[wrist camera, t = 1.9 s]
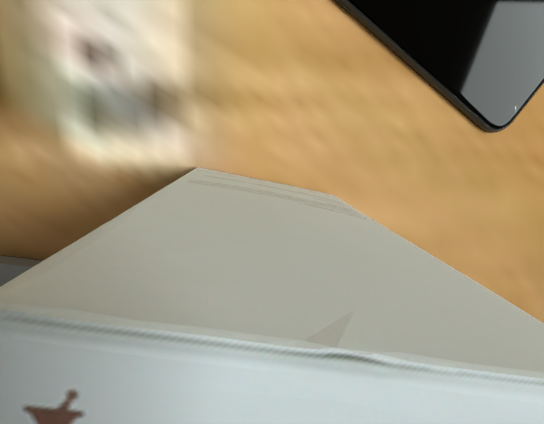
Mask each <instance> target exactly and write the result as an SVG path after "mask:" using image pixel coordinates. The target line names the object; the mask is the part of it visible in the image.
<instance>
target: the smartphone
mask: <svg viewBox="0 0 544 424" xmlns="http://www.w3.org/2000/svg"><path fill="white" fill-rule="evenodd" d="M335 1H336V2H337V3H338V4H339V5H340V6H341V7H342V8H344V9H345V10H346V11H347V12H348V13H349V14H351V15H352V16H353V17H355V18H356V19H357V20H358V21H359V22H360V23H361V24H362V25H364V26H365V27H366V28H367V29H368V30H369V31H370V32H372V33H373V34H374V35H375V36H376V37H377V38H378V39H379V40H381V41H382V42H383V43H384V44H385V45H386V46H387V47H389V48H390V49H391V50H392V51H393V52H394V53H395V54H396V55H398V56H399V57H400V58H401V59H402V60H403V61H404V62H405V63H407V64H408V65H409V66H410V67H411V68H412V69H413V70H415V71H416V72H417V73H418V74H419V75H420V76H421V77H422V78H424V79H425V80H426V81H427V82H428V83H429V84H430V85H432V86H433V87H434V88H435V89H436V90H437V91H438V92H439V93H441V94H442V95H443V96H444V97H445V98H446V99H447V100H448V101H450V102H451V103H452V104H453V105H454V106H455V107H456V108H458V109H459V110H460V111H461V112H462V113H463V114H464V115H465V116H467V117H468V118H469V119H470V120H471V121H472V122H473V123H475V124H476V125H477V126H478V127H479V128H481V129H482V130H484V131H486V132H491V133H493V132H499V131H501V130H503V129H505V128H506V127H508V126H509V125H510V124H511V123H512V122H513V121H514V119H515V118H516V117H517V116H518V114H519V113H520V112H521V111H522V109H523V108H524V107H525V106H526V105H527V103H528V102H529V101H530V100H531V98H532V97H533V96H534V95H535V93H536V92H537V91H538V90H539V88H540V87H541V86H542V85H543V83H544V0H335Z"/></svg>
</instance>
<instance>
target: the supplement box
mask: <svg viewBox="0 0 544 424" xmlns="http://www.w3.org/2000/svg"><path fill="white" fill-rule="evenodd" d="M0 424H544V323H542V322H541V321H539V320H537V319H536V318H534V317H532V316H531V315H529V314H528V313H526V312H524V311H523V310H521V309H520V308H518V307H516V306H515V305H513V304H511V303H510V302H508V301H507V300H505V299H503V298H502V297H500V296H499V295H497V294H495V293H494V292H492V291H490V290H489V289H487V288H485V287H484V286H482V285H480V284H479V283H477V282H475V281H474V280H472V279H471V278H469V277H467V276H466V275H464V274H462V273H461V272H459V271H457V270H456V269H454V268H452V267H451V266H449V265H447V264H446V263H444V262H442V261H441V260H439V259H437V258H436V257H434V256H432V255H431V254H429V253H427V252H426V251H424V250H422V249H421V248H419V247H417V246H416V245H414V244H412V243H411V242H409V241H407V240H406V239H404V238H402V237H401V236H399V235H397V234H396V233H394V232H392V231H391V230H389V229H388V228H386V227H384V226H383V225H381V224H379V223H378V222H376V221H374V220H373V219H371V218H369V217H368V216H366V215H365V214H363V213H361V212H360V211H358V210H356V209H355V208H353V207H352V206H350V205H348V204H347V203H345V202H344V201H342V200H341V199H339V198H337V197H336V196H334V195H330V194H326V193H322V192H318V191H314V190H309V189H304V188H300V187H295V186H290V185H285V184H280V183H275V182H270V181H265V180H260V179H255V178H250V177H245V176H240V175H235V174H230V173H225V172H220V171H215V170H209V169H204V168H200V167H197V168H195V169H194V170H192V171H190V172H189V173H187V174H186V175H184V176H182V177H181V178H179V179H177V180H176V181H174V182H172V183H171V184H169V185H167V186H166V187H164V188H162V189H161V190H159V191H157V192H156V193H154V194H152V195H151V196H149V197H148V198H146V199H144V200H143V201H141V202H139V203H138V204H136V205H134V206H133V207H131V208H129V209H128V210H126V211H124V212H123V213H121V214H119V215H118V216H116V217H115V218H113V219H112V220H110V221H108V222H106V223H104V224H103V225H101V226H99V227H98V228H96V229H95V230H93V231H91V232H90V233H88V234H87V235H85V236H83V237H82V238H80V239H79V240H77V241H75V242H73V243H72V244H70V245H68V246H67V247H65V248H63V249H62V250H60V251H58V252H57V253H55V254H53V255H52V256H50V257H48V258H47V259H45V260H44V261H42V262H40V263H39V264H37V265H35V266H34V267H32V268H30V269H29V270H27V271H25V272H24V273H22V274H21V275H19V276H17V277H16V278H14V279H12V280H11V281H9V282H8V283H6V284H4V285H3V286H1V287H0Z"/></svg>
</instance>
